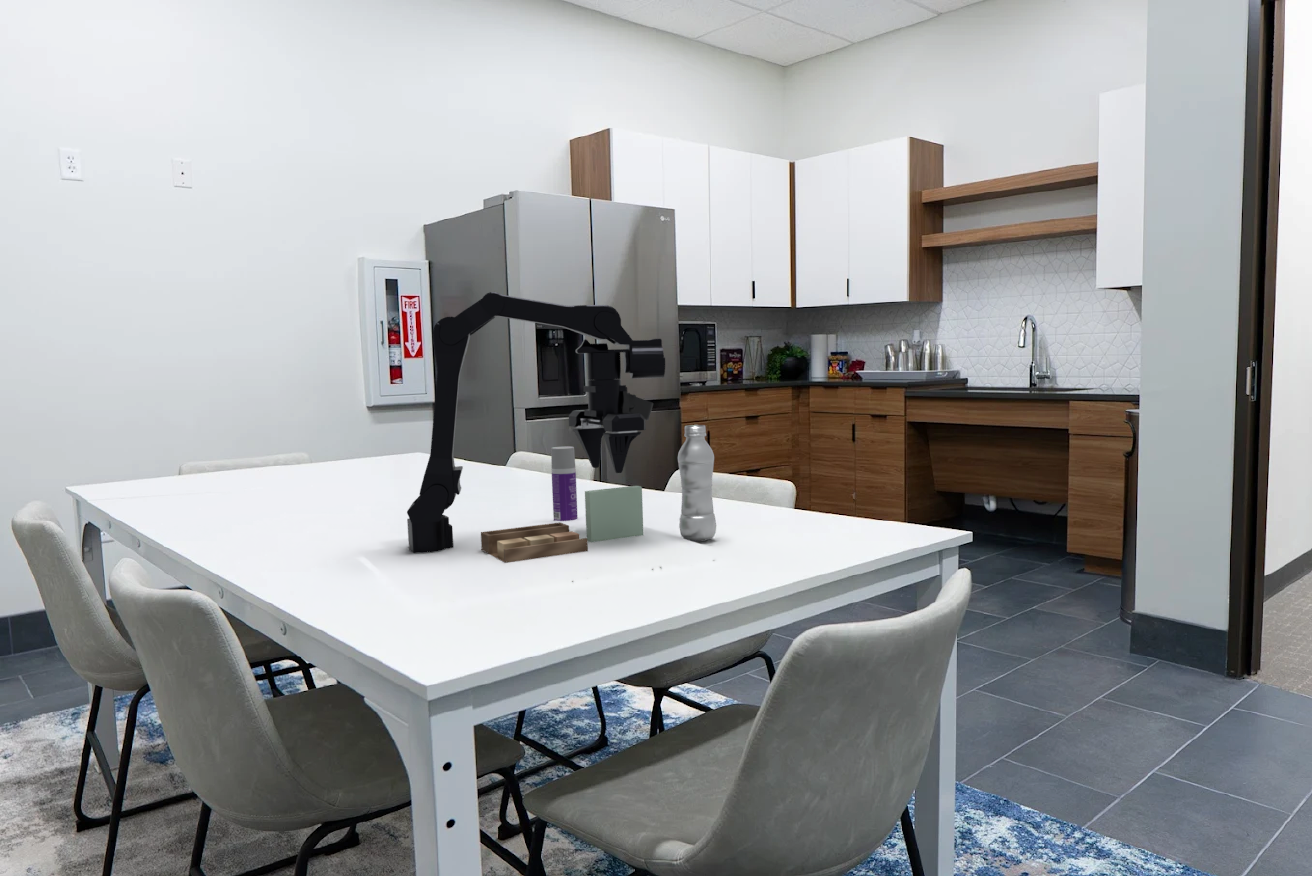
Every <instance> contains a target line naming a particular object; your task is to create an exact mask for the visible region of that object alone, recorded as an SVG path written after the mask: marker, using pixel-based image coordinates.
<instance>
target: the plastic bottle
mask: <svg viewBox="0 0 1312 876" xmlns="http://www.w3.org/2000/svg"><path fill="white" fill-rule="evenodd" d="M706 432H707V431H706V425H705V424H694V425H693V424H690V425H685V426H684V434H683V435H684V437H685V440H684V442H683V444H682V445H681V447H680V449H679V451H678V454H677V463H678V469H679V470H678V471H679V476H680V484H681V486H680V487H681V508H680V509H681V511H680V517H679V526H678V529H679V532H680V535H681V537H682V538H683V539H684V540H686V541H692V542H697V543H698V542H703V541H708V540H711V539H713V538H714V537H715V535H716V532H717V520H716V516H715V513H714V512H715V511H714V503H713V502H714V501H713V475H714V474H713V473H714V465H715V454H714V452H713V451H714V450H713V449H712V447H711V446H710V445H709V443H708V441H707V440H706V438H705V437H707V433H706Z"/></svg>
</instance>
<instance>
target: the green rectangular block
mask: <svg viewBox="0 0 1312 876" xmlns="http://www.w3.org/2000/svg"><path fill="white" fill-rule="evenodd" d="M584 504H585V505H584V506H585V507H584V508H585V526H586V527H585V529H586V533H585V534H586V538H587V542H589V543H595V542H603V541H605V542H606V541H612V540H619V539H627V538H633V537H641V536H644V512H643V511H644V510H643V508H644V507H643V505H644V504H643V487H642V486H641V485H631V486H630V485H629V486H621V487H620V486H619V487H610V488H602V489H594V490H593V489H592V490H584Z"/></svg>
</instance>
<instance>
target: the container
mask: <svg viewBox="0 0 1312 876" xmlns="http://www.w3.org/2000/svg"><path fill="white" fill-rule="evenodd" d="M550 450H551V451H550V454H551V455H550V457H551V489H552V491H551V492H552V513H553V514H552V515H553V521H554V522H555V521H557V522H564V521H565V522H567V521H568V522H570V521H571V522H572V521H575V520H578V518H579V517H578V495H577V473H576V457H575V456H576V455H575V447H574V446H572V445H571V446H567V445H566V446H555V447H554V446H553V447H551V448H550Z"/></svg>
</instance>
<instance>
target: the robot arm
mask: <svg viewBox="0 0 1312 876" xmlns="http://www.w3.org/2000/svg"><path fill="white" fill-rule="evenodd" d="M495 318H505V319H511V320H516V321H523V322H529V323H535V324H540V325H547V326H553V327H560V328H563V329H567V330H570V331H572V332H574V333H578V334H580V335H583V336H585V337H588V338H591V339H594V340H598V341H605V340H606V341H608V342H609V343H611V344H613V345H615V346H625V348H624V349H609V346H608V344H607V342H606V343H605V342H604V343H603V342H601V343H599V342H598V343H590V342H589V340H588V339H584V340H583V341H582V343H581V344H580V345H579V347H577V348H576V349H575V353H576V354H586V360H587V361H586V362H587V363H586V367H587V369H586V370H587V385H583V392H584V393H587V395H588V396H587V398H588V399H587V401H588V406H587V407H588V409H580V410H579V409H578V410H577V409H576V410H572V411H571V412H570V413H569V415H568V427H574V428H571V429H572V432H574V434H575V436H576V437H577V439H578V441H579V443H580V445H581V446H582V449H583V450H584V453H585V455H586V457H587V459H588V461H589V463H590V465H591V467H592V468H594V469H598V468H599V467H600V460H601V450H602V438H604V441H605V444H606V448H607V450H608V454H609V458H610V461H611V464H612V467H613V469H614V473H616V474H621V473H623V471H624V467H625V462H626V459H627V456H628V452H629V449H630V446H631V444H632V442H633V441H634V439H635V438H637V437H638V436H640V435H641V434H642V433H643V431H645V430H646V421H650V417H651V413H652V410H653V406H654V403H653V402H652V401H648V400H646V399H644V398H640V397H638V396H637V395H635V394H633V393H630V392H628V387H627V385H626V384H622V370H621V369H622V368H621V364H623V372H624V374H629V377H630V379H632V380H633V379H635V380H637V379H664V377H665V373H666V357H665V356H664V348H663V345H662V344H663V341H662V338H652V339H636V340H633V339H632V338H631V336H630V334H629V333H628V332H627V331H626V330H625V329H624V328H623V326H622V319H621V316H620V313H619V312H618V310H617V309H616V308H614V307H613V306H611V305H607V304H583V305H581V304H580V305H564V304H560V303H553V302H547V301H541V300H535V299H530V298H523V297H518V296H512V295H511V296H510V295H505V294H501V293H500V292H495V291H489V292H487V293H486V294H484V295H483V296H482V298H481V299H479V300H478V301H476V302H475V303H473V304H472V305H470V306H469V307H467V308H465V310H462V311H461V312H460V313H458V314H457V315H455V316H445V317H444V318H441V319H439V320H438V321H437V322H436V323H435V325H434V327H433V329H432V340H433V350H434V351H433V352H434V358H435V365H436V382H435V392H434V393H435V395H434V407H433V421H432V431H431V432H432V433H431V441H430V442H431V443H430V454H429V459H428V461H427V465H426V469H425V472H424V474H423V479H422V482H421V486H420V489H419V496H417V498H415V499H414V501H413V502H412V503H411V505H410V506H409V508H408V509H407V512H406V514H407V516H408V518H407V522H406V523H407V536H408V538H407V539H408V550H409V551H410V552H411V553H413V554H417V553H418V554H419V553H421V554H422V553H423V554H424V553H425V554H426V553H435V552H437V553H438V552H441V551H445V550H449V549H452V548H453V549H454V534H453V533H454V532H453V530H454V529H453V525H452V524H450V519H449V516H447V515H445V514H444V513H445V511H446V510H447V509H448V508H450V507H451V506H452V505H453V503H454V502H455V499H456V496H458V495H460V494H461V491H462V485H461V475H462V472H463V469H464V468H463V467H464V466H461V465H460V466H455V465H456V463H455V458H454V457H455V456H454V451H455V450H454V449H455V439H456V437H455V436H456V425H457V415H458V413H457V412H458V402H459V389H460V379H461V378H460V377H461V371H462V368H463V365H464V363H465V359H466V358H465V357H466V355H467V352H468V347H469V343H470V340H471V336H472V335H474V334H475V333H477V332H478V331H480V330H481V329H483V327H485V326H486V325H487V324H488V323H490V322H491V321H492V320H494V319H495ZM621 353H622V363H621ZM635 440H636V439H635Z"/></svg>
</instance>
